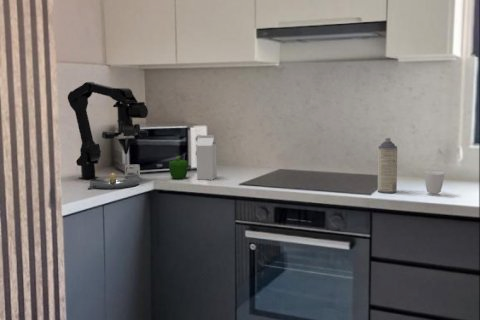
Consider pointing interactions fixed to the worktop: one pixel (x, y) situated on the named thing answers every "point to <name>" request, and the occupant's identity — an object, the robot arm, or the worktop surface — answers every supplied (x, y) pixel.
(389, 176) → the aerosol can
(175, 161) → the bell pepper
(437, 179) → the cup
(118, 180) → the turntable
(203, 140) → the milk carton
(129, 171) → the cover
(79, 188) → the worktop surface
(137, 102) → the robot arm
